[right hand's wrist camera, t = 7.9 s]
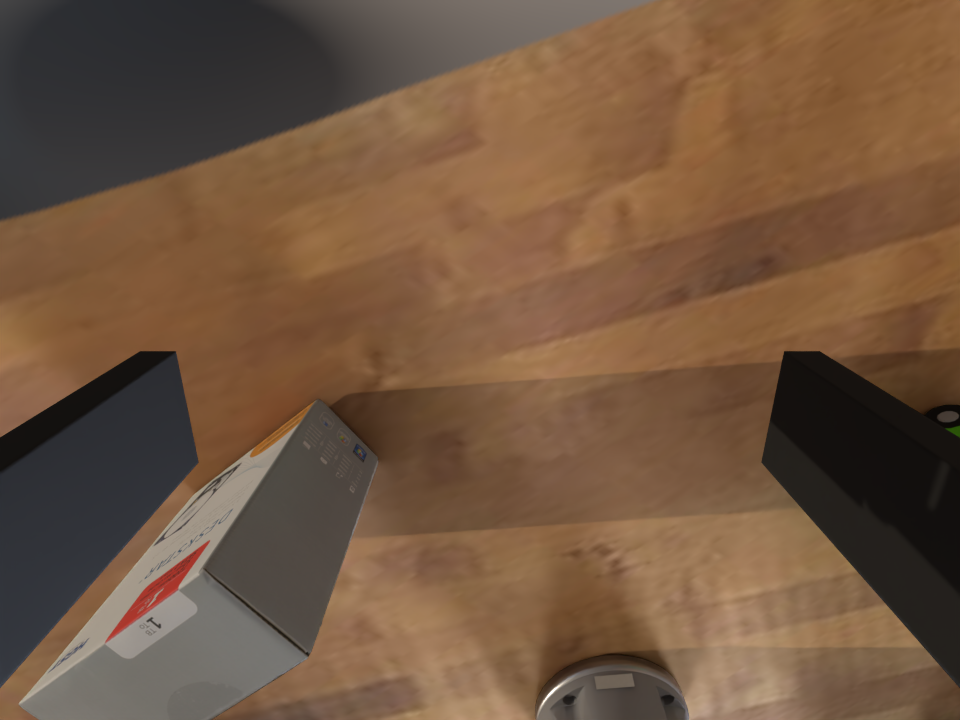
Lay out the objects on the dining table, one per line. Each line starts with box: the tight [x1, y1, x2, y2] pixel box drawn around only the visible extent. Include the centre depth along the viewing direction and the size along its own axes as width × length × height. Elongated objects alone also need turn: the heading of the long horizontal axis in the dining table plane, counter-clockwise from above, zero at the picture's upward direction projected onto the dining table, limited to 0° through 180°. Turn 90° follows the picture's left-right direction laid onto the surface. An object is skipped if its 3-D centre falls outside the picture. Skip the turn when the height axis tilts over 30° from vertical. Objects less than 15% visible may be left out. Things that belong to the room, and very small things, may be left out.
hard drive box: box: [19, 399, 379, 720], centre depth 39 cm, size 16×8×20 cm, turn 128°
